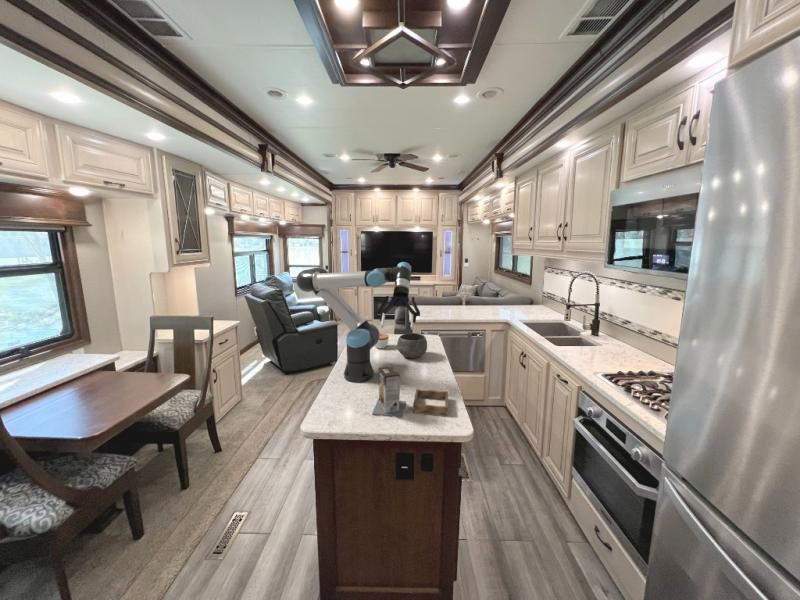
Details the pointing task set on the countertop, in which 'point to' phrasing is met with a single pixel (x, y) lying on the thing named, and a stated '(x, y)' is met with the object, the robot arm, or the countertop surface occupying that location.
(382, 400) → the coffee box
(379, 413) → the slate mat
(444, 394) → the walnut frame
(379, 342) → the lidded jar
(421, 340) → the bowl
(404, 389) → the countertop surface
